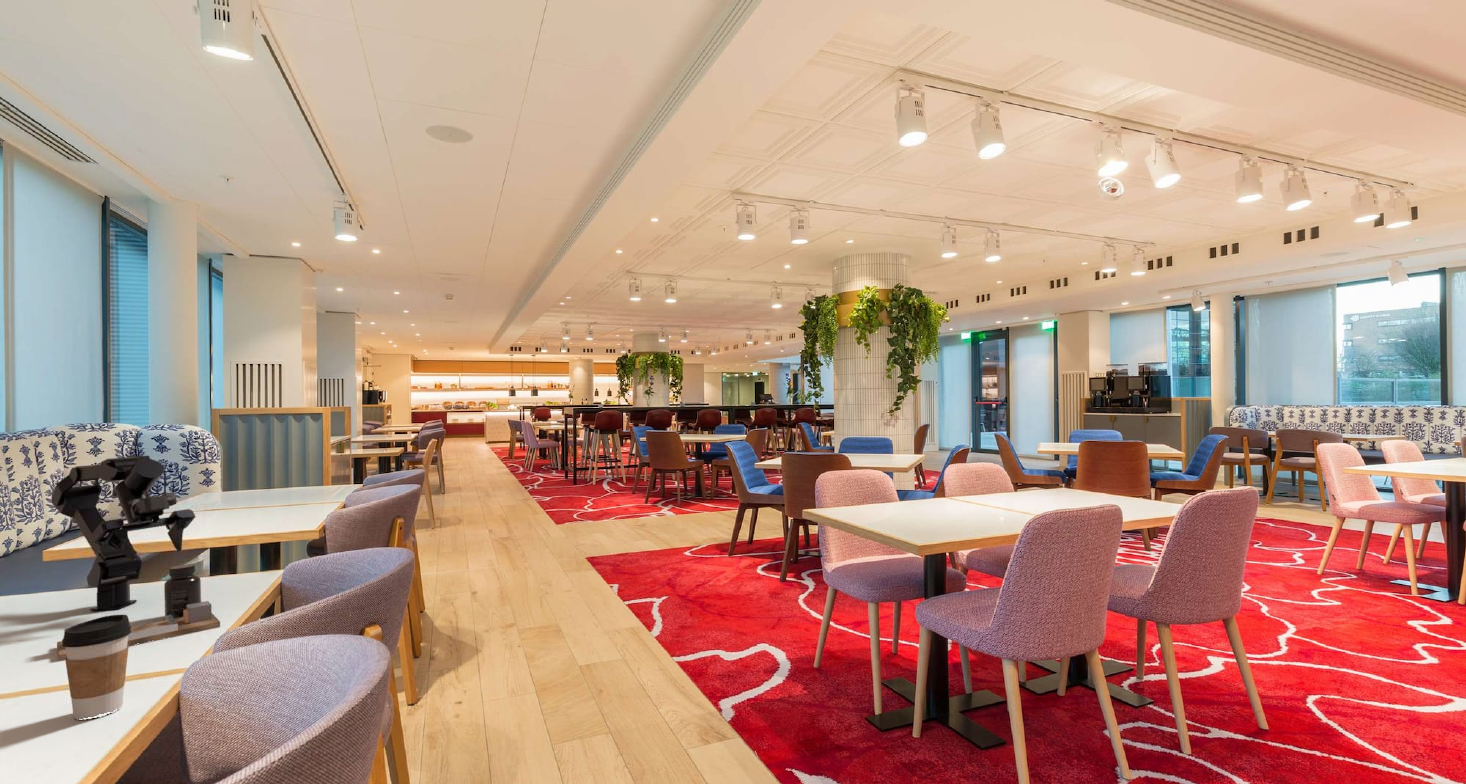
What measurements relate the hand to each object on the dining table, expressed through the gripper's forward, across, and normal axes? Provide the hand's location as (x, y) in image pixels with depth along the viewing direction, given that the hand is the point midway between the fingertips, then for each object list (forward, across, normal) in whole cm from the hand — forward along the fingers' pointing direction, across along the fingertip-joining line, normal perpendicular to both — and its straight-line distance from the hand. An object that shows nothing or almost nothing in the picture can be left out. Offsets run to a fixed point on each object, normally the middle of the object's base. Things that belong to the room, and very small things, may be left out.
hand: (157, 554), depth 162 cm
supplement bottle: (+16, +2, +4) cm, 16 cm away
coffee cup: (+42, -32, -32) cm, 62 cm away
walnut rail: (+20, -10, -2) cm, 22 cm away
